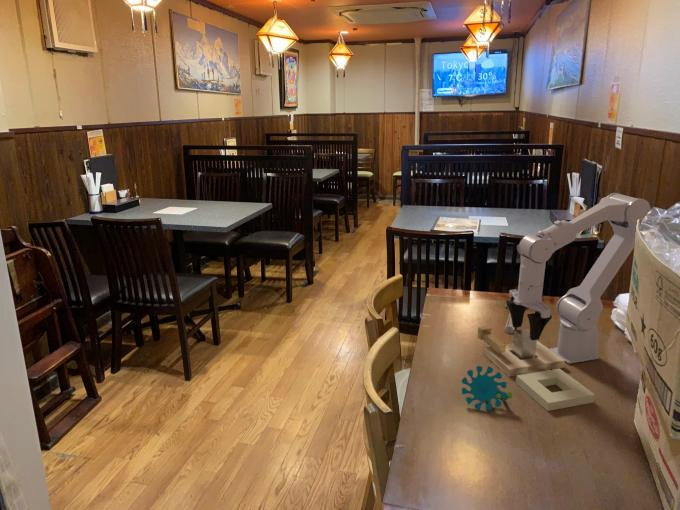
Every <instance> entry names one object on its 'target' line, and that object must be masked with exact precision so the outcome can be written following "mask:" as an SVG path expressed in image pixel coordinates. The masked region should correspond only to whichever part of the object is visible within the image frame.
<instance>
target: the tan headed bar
mask: <svg viewBox="0 0 680 510" xmlns="http://www.w3.org/2000/svg"><path fill="white" fill-rule="evenodd" d="M477 338H478V340H479V341H483V342H484V343H485V344H487V345H488V347H492V348H493V349H494V350H495V351H496V352H498V353H503V352H505V351H506V345H505V344H506V343H504V342H502V341H501V340H500V339H499V338H497V337H496V336H495V335H494V334H493V333H492V327H490V326H489V325H487V326H485V325H484V326H478V327H477Z"/></svg>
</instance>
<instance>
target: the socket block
mask: <svg viewBox="0 0 680 510" xmlns="http://www.w3.org/2000/svg"><path fill="white" fill-rule="evenodd" d="M504 344H505V345H506V351H505V352H503V353H498V352H496V351H495V350H494V349H493V348H492V347H490V346H486V347H483V355H484V356H485V357H486V358H487V359H488V360H489V361H490V362H492V363H493V364H494V365H495V366H496V367H497V368H498V369H500V370H501V371H502V372H503V373H504V374H505V375H506V376H507V377H516V376H517V375H523V374H529V373H535V372H541V371H547V370H551V369H552V370H553V369H559V368H560V369H563V368H565V365H566V362H565V360H564V359H562V358H561V357H560V356H558V355H557V354H555V353H554V352H553V351H551V350H550V348H548V347H547V346H546V345H545V344H542V343H541V342H540V341H538V340H537V343H536V351H535V358H531V359H524V360H520V359H519V358H517V357H516V356H515V355H514V354H512V350H513V342H512V343H507V344H506V343H504Z"/></svg>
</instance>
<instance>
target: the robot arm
mask: <svg viewBox="0 0 680 510" xmlns="http://www.w3.org/2000/svg"><path fill="white" fill-rule="evenodd" d="M650 210H651V211H652V209H651V205H650V203H649V201H647V200H646V199H644V198H638V197H632V196H629V195H625V194H621V193H619V192H612V193H610V194H609V195H607V196H605V197H602V198H601V199H600V201H599V203H597V204H595V205H593V207H590V208H589V209H587V210H585V211H584V212H583V213H581V214H579V215H577V216H576V217H575V218H573V219H571V220H570V221H568V220H565V219H562V220H555V221H554V222H553V224H552V225H550V226H548V227H547V228H545V229H543V230H539V231H537V232H536V233H535V234H531V233H530V234H527V235H525V236H524V237H523V238H521V240H520V241H519V244H517V245H516V250H517V252H518V253H519V255H520V257H519V258H520V266H519V275H518V276H519V278H518V286H517V289H510V290H508V291H509V292H508V297H509V298H510V299H507V300H506V301H505V302H506V304H507V306H508V308H509V309H508V308H507V309H508V310H509V314H511V319H512V325H513V327H514V328H521V327H522V325H523V321H524V317H525V316H524V315H525V312H526V309H527V308H528V309H530V310H531V311H534V313H527V315H526V316H527V318H528V321H529V330H530V339H531V340H537V341H538V340H540V338H541V336H542V332H543V331H544V329H545V327H546V326H547V324H548V323H549V322H550V321H551V319H552V317H553V316H552V315H551V314H552V313H551V312H552V310H551V309H550V308H549V307H548V306H547V305H546V304H545V302H544V301H543V300H542V299H543V298H542V297H543V291H544V290H543V289H544V280H545V271H546V263H547V261H549V259H550V258H551V257H552V255H553V254H554V253H555V252H556V251H558V250H560V249H561V248H563V247H565V246H567V245H568V244H571V243H573V241H575V240H576V237H577V235H578V234H579V233H581V232H583V231H586V230H587V229H590V228H592V227H594V226H596V225H599V224H600V223H603V222H605V221H608V222H609V224H610V226H611V227H612V231H613V235H612V236H611V238H610V239H609V241H608V243H607V244H606V246H605V247H604V249H603V250H602V252H601V253H600V255H599V257H597V258H596V259H597V260H595V262H594V263H593V265H592V267H591V268H590V270H589V271H588V273H587V274H586V276H585V278H584V279H583V280H582V282H581V283H580V285H578V286H576V287H572V288H570V289H568V290H567V292H566V294H565V295H563V296H561V297H560V298H559V300H557V303H556V305H555V310H556V313H557V314H558V315H559V320H560V324H559V330H558V340H557V345H556V346H557V347H551V348H549V349H550V350H551V351H553V352H554V353H555V354H557V355H558V356H560V357H561V358H562V359H564V360H565V363H567V364H575V363H582V362H588V361H593V360H599V358H600V357H599V356H598V349H599V343H600V336H601V335H600V330H599V327H597V324H598V322H599V318H600V315H601V312H602V311H603V309H604V305H603V302H602V299H601V297H602V295H603V294H604V292H605V291H606V290H607V288H608V286H609V285H610V284H611V282H612V280H614V278H615V276H616V275H617V273H618V271H619V270H620V269H621V267H622V266H623V264H624V263H625V261H626V260H627V258H628V257H629V255H630V254H631V252H632V251H633V249H634V248H635V247H634V244H635V232H636V225H637V220H638V219H643V218H644V217H645V216H646V215H647V213H648V212H649V211H650Z"/></svg>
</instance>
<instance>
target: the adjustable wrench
mask: <svg viewBox="0 0 680 510" xmlns="http://www.w3.org/2000/svg"><path fill="white" fill-rule="evenodd" d="M503 307H504V308H506V309H508V310H509V308H508V306H507V304H506V303H504V306H503ZM515 328H516V327H515ZM515 328H514V327H513V325H512V319H511V314H510V313H509V314H508V318H507V321H506V324H505V326H504V333H507V334H514V331H515Z"/></svg>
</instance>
